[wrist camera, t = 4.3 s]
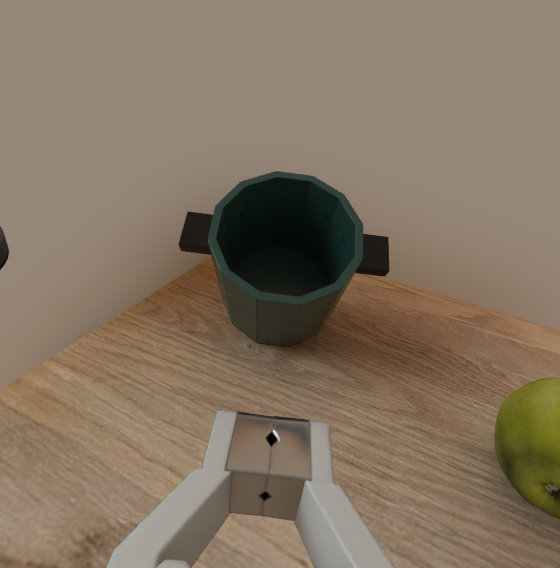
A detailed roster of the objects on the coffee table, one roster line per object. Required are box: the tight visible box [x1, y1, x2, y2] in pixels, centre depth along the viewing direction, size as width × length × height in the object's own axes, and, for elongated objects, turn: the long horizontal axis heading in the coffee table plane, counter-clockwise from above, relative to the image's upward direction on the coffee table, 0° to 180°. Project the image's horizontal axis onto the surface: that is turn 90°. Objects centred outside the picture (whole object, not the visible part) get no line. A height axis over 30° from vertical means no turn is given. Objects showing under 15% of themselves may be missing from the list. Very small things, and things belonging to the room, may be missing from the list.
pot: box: [179, 171, 389, 346], centre depth 29 cm, size 16×11×11 cm
